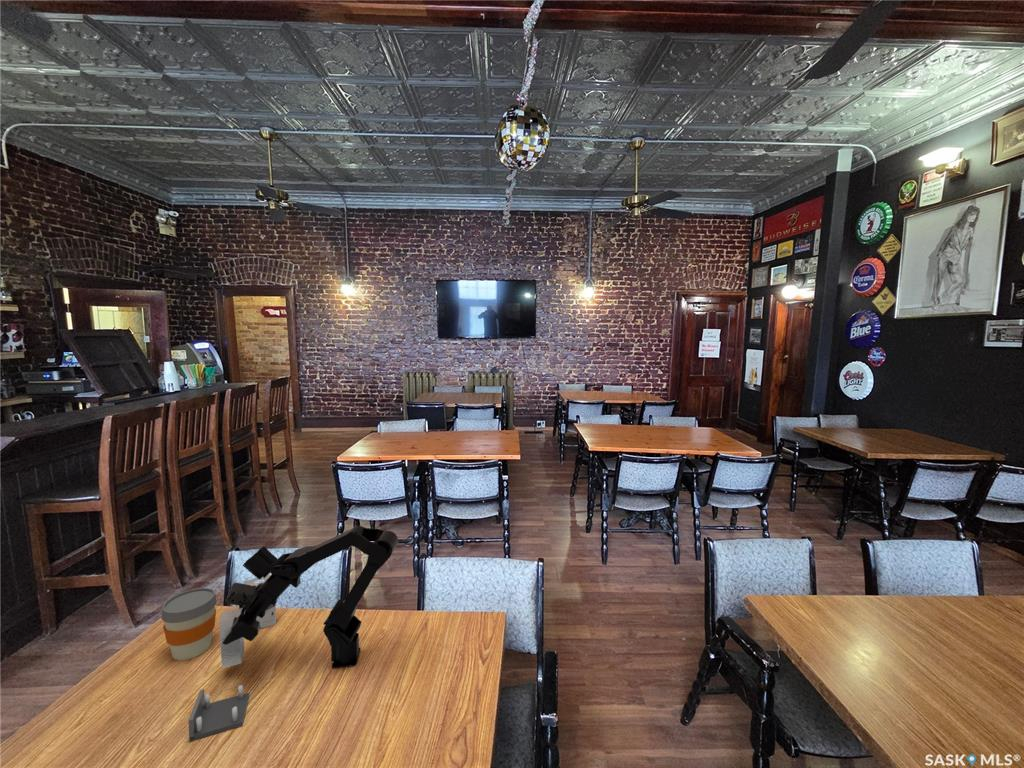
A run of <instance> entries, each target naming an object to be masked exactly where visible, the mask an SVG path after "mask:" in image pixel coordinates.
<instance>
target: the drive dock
mask: <svg viewBox="0 0 1024 768" xmlns="http://www.w3.org/2000/svg"><path fill="white" fill-rule="evenodd" d="M249 699H250V692H246V693H244V685H243V684H239V685H238V686H237V695H234V696H231V697H227V698H224V699H220V700H217V701H216V700H215V701H212V702H211V696H210V693H206V694H205V689H200V690H199V692H198V695H197V697H196V700H195V702H194V705H193V708H192V710H191V713H190V716H189V719H188V723H187V724H188V739H189V742H194V741H197V740H200V739H203V738H207V737H209V736H213V735H216V734H220V733H223V732H226V731H229V730H234V729H237V728H240V727H243V724H244V720H245V717H246V712H247V709H248V704H249Z"/></svg>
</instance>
